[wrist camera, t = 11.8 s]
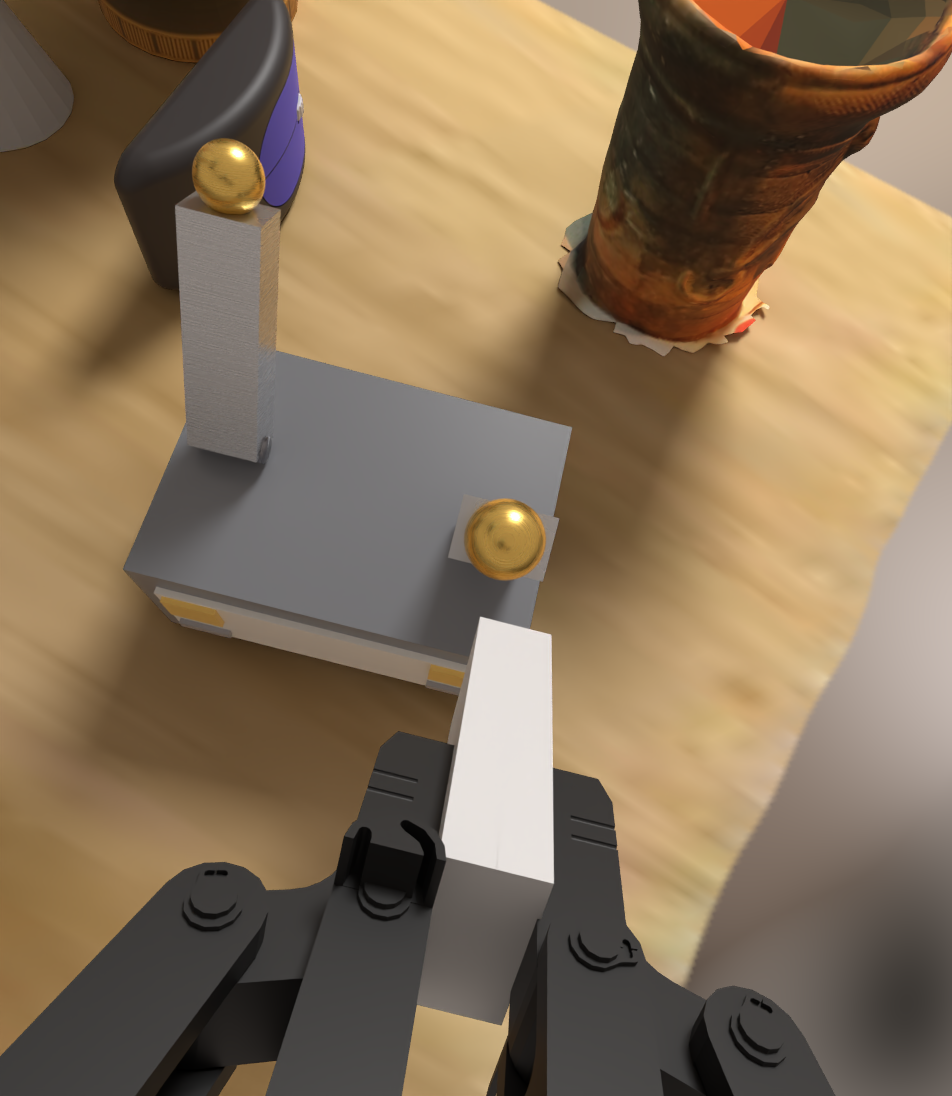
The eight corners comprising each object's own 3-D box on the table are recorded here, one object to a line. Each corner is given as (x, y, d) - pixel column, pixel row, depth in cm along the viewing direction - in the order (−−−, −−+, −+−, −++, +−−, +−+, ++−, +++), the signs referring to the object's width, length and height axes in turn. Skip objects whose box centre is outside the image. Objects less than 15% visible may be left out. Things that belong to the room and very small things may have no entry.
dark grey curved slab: (220, 322, 47) (182, 200, 38) (150, 293, 47) (96, 164, 38) (341, 143, 53) (333, 1, 44) (279, 117, 53) (259, -28, 44)
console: (167, 631, 40) (117, 581, 32) (249, 422, 44) (222, 336, 37) (493, 714, 40) (518, 682, 32) (541, 497, 45) (572, 427, 37)
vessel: (683, 414, 48) (864, 126, 29) (510, 274, 50) (576, -69, 32) (811, 286, 52) (1036, -30, 34) (647, 166, 55) (773, -187, 37)
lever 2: (452, 544, 35) (439, 569, 22) (465, 491, 34) (461, 484, 22) (522, 562, 35) (551, 597, 22) (536, 509, 34) (573, 513, 22)
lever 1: (183, 458, 33) (165, 136, 25) (206, 428, 35) (197, 119, 27) (256, 476, 34) (263, 162, 25) (275, 446, 35) (287, 143, 27)
